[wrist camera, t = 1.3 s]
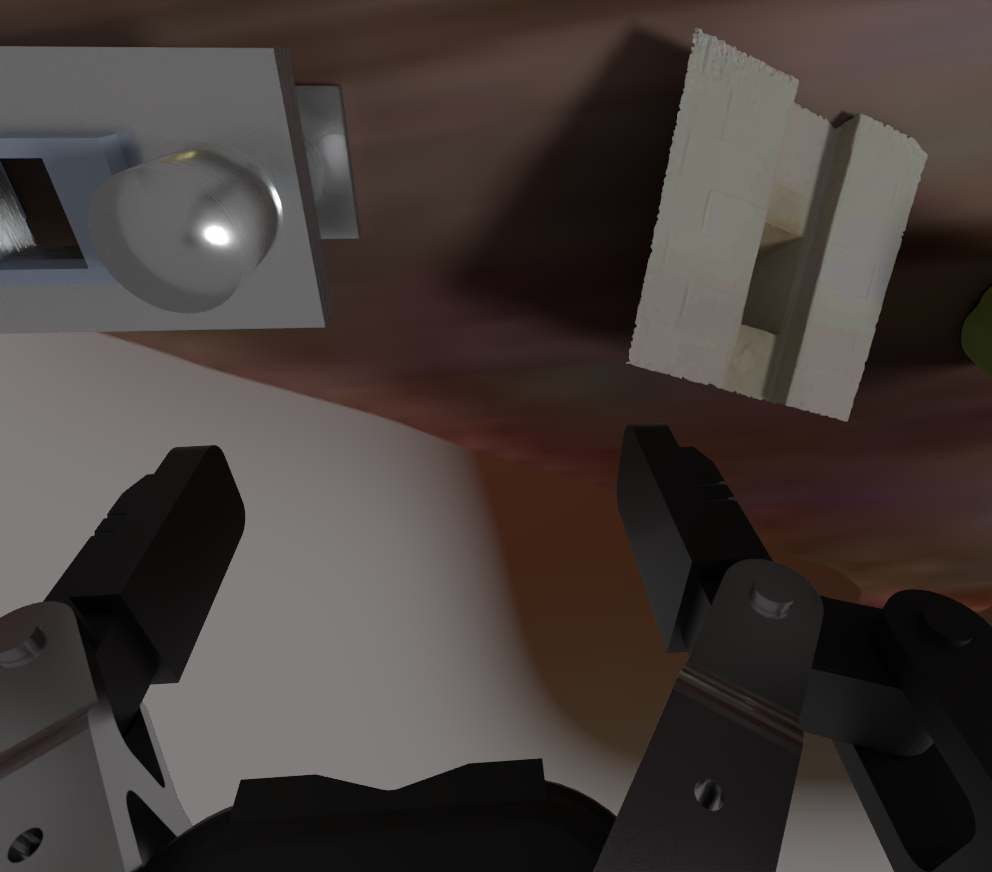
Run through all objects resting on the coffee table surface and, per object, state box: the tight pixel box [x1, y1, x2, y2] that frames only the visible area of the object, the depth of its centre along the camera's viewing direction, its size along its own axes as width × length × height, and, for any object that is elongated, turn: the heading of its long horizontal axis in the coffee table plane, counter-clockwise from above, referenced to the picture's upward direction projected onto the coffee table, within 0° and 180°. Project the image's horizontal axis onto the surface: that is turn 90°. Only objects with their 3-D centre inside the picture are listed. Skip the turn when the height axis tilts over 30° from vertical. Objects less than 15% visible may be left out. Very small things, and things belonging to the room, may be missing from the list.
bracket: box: [0, 133, 129, 286], centre depth 24 cm, size 5×12×10 cm, turn 90°
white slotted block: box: [626, 28, 928, 421], centre depth 30 cm, size 16×9×15 cm
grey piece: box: [0, 46, 361, 333], centre depth 23 cm, size 10×14×14 cm
